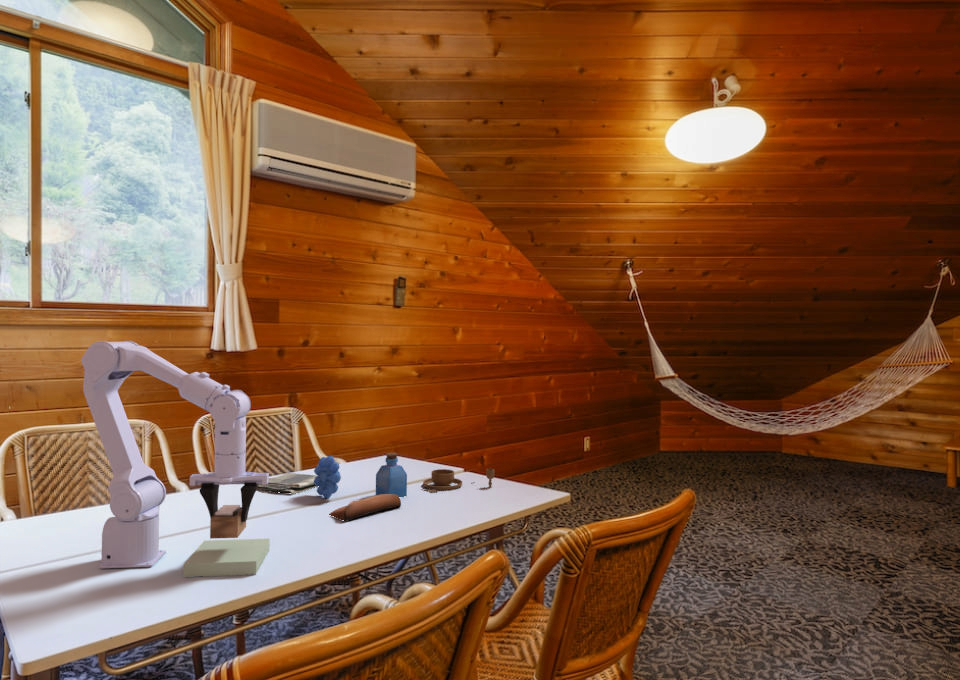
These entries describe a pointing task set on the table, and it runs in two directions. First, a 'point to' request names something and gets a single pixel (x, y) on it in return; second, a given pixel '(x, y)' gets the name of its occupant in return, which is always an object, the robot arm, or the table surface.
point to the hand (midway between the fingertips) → (229, 520)
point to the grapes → (327, 476)
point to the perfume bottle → (391, 478)
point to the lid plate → (228, 510)
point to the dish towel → (289, 483)
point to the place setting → (449, 480)
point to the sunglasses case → (367, 506)
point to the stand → (227, 557)
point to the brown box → (226, 526)
